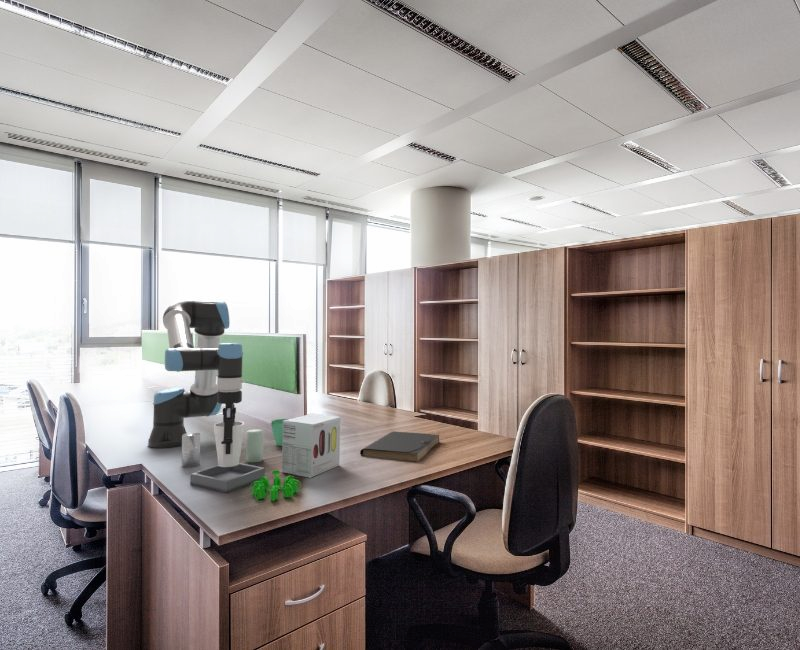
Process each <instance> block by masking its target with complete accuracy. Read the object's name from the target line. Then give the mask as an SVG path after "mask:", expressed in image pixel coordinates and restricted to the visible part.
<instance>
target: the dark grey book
mask: <svg viewBox="0 0 800 650" xmlns="http://www.w3.org/2000/svg"><path fill="white" fill-rule="evenodd" d="M439 443H440V434H433V433H432V434H431V433H423V432H422V433H421V432H407V431H406V432H405V431H391V432H389V433H387V434H386V435H384V436H381V438H379V439H377V440H375V441H373V442H371V443H370V444H369V445H366V446H364V448H362V449H361V450H359V454H360V456H361V457H362V456H363V457H370V458H378V459H379V458H380V459H387V460H389V459H390V460H397V461H399V460H400V461H406V462H408V461H409V462H415V463H418V462H419V461H420V460H421V459H422V458H423V457H424V456H426V454H427V453H429V452H430V451H431V450H432V448H433V447H434V446H435V445H437V444H439Z"/></svg>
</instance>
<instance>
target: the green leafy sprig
mask: <svg viewBox="0 0 800 650" xmlns="http://www.w3.org/2000/svg"><path fill="white" fill-rule="evenodd" d="M280 473H281V470H279V469H278V470H276V469H275V470H272V472H271V474H272V475H274V478H273V479H272V480H273V485H270V482H269V480H268V477H266V476H265V477H261V478H260V480H259V481H255V482H253V483H252V484H250V486H249V493H250V494H251V495H252V496H254V498H255V499H256V500H258V501H260V500H261V499H265V498H266V497H267V495H268V491H270V495H269V499H270V500H271V501H272V502H275V501H276V500H277V499H278V498H279V490H281V492H282V495H283V497H285V498H289V499H291V498H292V497H293V496H294V493H295V494H298V493H299V492H300V491H301V489H302V484H301V482H300V481H299V480H298V479H295V477H294V476H293V475H288V476H286V477H285V479H284V480H283V484H281V476H279V474H280ZM261 479H262V480H261ZM298 483H299V485H300V486H299V489H298ZM252 485H253V487H252ZM251 487H252V489H253V492H252V489H251Z"/></svg>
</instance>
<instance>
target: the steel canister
mask: <svg viewBox="0 0 800 650" xmlns="http://www.w3.org/2000/svg"><path fill="white" fill-rule="evenodd" d="M186 433H187V434H183V435H182V445H181V467H182V468H196V467H198V466H200V464H201V433H199V432H186Z"/></svg>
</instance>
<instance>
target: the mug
mask: <svg viewBox="0 0 800 650" xmlns="http://www.w3.org/2000/svg"><path fill="white" fill-rule="evenodd" d="M288 419H289V418H278V419H272V420H271V422H270V424H271V429H272V433H273V434H272V435H273V438H274V441H275V444H276V446H277V447H279V446H280V447H282V441H283V421H284V420H288Z"/></svg>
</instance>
